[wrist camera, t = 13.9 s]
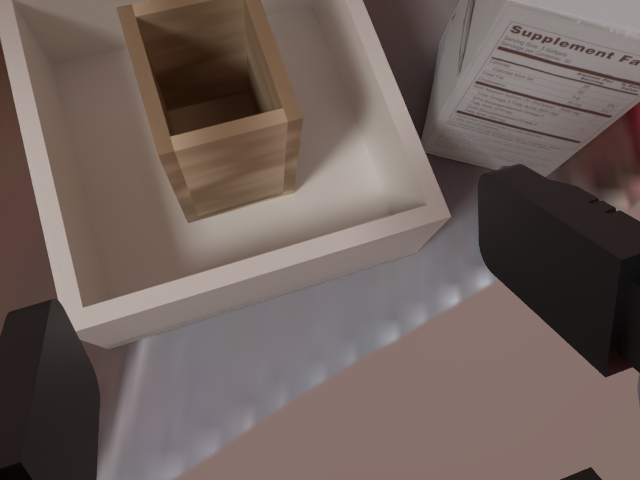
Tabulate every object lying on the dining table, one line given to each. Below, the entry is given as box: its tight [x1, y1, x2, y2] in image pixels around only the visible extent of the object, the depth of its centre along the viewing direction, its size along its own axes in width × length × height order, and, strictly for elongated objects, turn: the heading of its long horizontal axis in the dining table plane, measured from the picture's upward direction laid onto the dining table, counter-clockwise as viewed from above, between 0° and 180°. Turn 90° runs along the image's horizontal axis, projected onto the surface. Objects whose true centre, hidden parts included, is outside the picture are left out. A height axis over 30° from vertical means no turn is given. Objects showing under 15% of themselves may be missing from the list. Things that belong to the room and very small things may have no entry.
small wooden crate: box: [116, 0, 303, 223], centre depth 26 cm, size 6×6×8 cm
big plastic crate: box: [0, 0, 451, 349], centre depth 28 cm, size 16×16×6 cm
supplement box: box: [421, 0, 640, 177], centre depth 27 cm, size 7×7×13 cm
